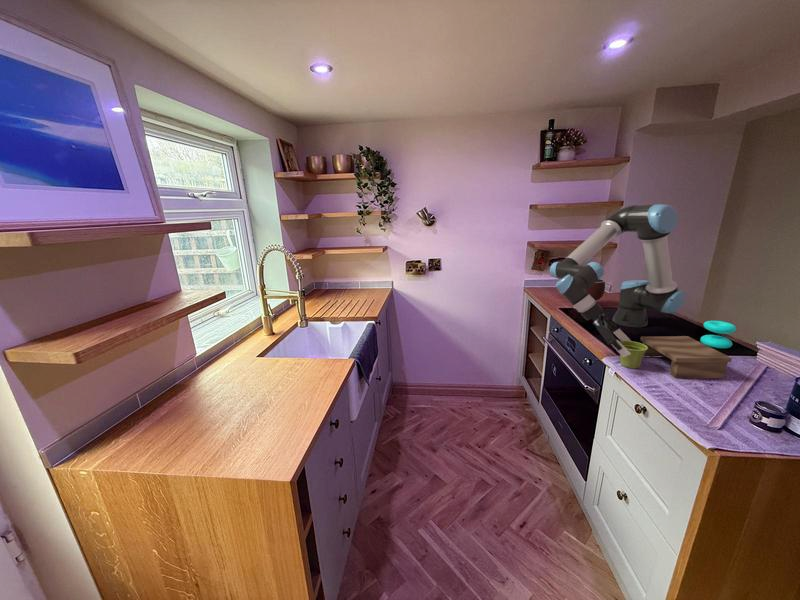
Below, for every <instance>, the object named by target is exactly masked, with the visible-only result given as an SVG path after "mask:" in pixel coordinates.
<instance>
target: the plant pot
mask: <svg viewBox="0 0 800 600" xmlns="http://www.w3.org/2000/svg"><path fill="white" fill-rule="evenodd" d="M619 342H620V343H621V344H622V345H623V346H624V347H625V348H626V349H627V350H628V351H629V352H630V353H631V354H630V355H628V356H626V357H623V356H622V355H621V354H620V353H619V356H620V359H619V361H620V365H621V366H622V367H624V368H629V369H638V368H640V366H641V363H642V360H643V358H644V356H643V355H644V353H645V351H646V350H647V349H648V347H647V346H646V345H644V344H642V343H641V342H637V341H632V340H631V341H621V340H620V341H619Z"/></svg>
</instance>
